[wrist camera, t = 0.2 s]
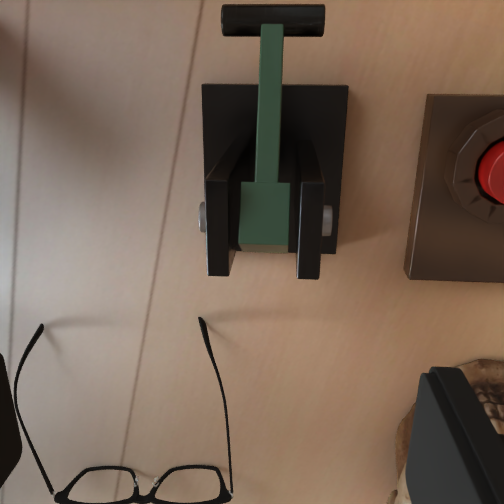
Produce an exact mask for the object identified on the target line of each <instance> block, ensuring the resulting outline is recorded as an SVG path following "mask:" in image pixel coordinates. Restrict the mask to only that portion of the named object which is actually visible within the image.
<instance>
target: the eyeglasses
mask: <svg viewBox="0 0 504 504" xmlns="http://www.w3.org/2000/svg"><path fill="white" fill-rule="evenodd" d="M198 319H199V323H200V327H201V331H202V335H203V338H204V342H205V345H206V348H207V351H208V353H209V356H210V358H211V361H212V364H213V366H214V369H215V371H216V374H217V378H218V381H219V385H220V389H221V393H222V397H223V403H224V410H225V418H226V430H227V442H228V457H229V472H230V488H231V490H230V491H228V490H227V489H226V486H225V483H224V480H223V477H222V475H221V472H220V470H219V469H218V468H217V467H214V466H206V465H187V466H180V467H175V468H172V469H169V470H168V471H167V472H166V473H165V474H164V475H163V476H162V477H161V478H160V479H159V477H158V476H157V477H156V478H155V479H154V480H155V481H154V482H156V481H157V483H156V484H155V485H154V484H153V483H154V482H153V483H152V484H153V485H154V487H153V488H152V489H151V491H150V493H149V494H148V495H145V496H141V495H139V487H138V480H139V476H136V475H135V473H134V471H133V470H132V469H130V468H126V467H119V466H100V467H91V468H86V469H84V470H83V471H82V472H80V473H79V474H78V475H77V476H76V477H75V478H74V479H73V480H72V481H71V482H70V483H69V484H68V485H67V487H66V488H65V489H64V490H62V491H60V492H58V493H56V492H54V489H53V487H52V485H51V483H50V481H49V479H48V476H47V474H46V472H45V470H44V468H43V466H42V464H41V461H40V459H39V457H38V455H37V453H36V451H35V449H34V446H33V444H32V442H31V440H30V438H29V435H28V433H27V431H26V428H25V426H24V423H23V421H22V418H21V416H20V413H19V409H18V404H17V382H18V378H19V374H20V371H21V369H22V366H23V364H24V362H25V360H26V358H27V356H28V354H29V352H30V351H31V349H32V348H33V346H34V344H35V343H36V341H37V340H38V338H39V337H40V335H41V334H42V332H43V330H44V325H43V324H41V325H40V326H39V328H38V329H37V331H36V332H35V334H34V336H33V337H32V339H31V341H30V342H29V344H28V346H27V348H26V350H25V352H24V354H23V356H22V358H21V361H20V363H19V366H18V370H17V373H16V377H15V381H14V404H15V409H16V412H17V415H18V418H19V421H20V424H21V426H22V429H23V431H24V434H25V436H26V439H27V441H28V443H29V446H30V448H31V450H32V453H33V455H34V457H35V460H36V462H37V464H38V466H39V469H40V471H41V473H42V475H43V478H44V480H45V482H46V484H47V487H48V489H49V491H50V493H51V496H52V497H53V498H54V501H55V502H56V503H59V504H130V503H133V502H134V503H138V504H147V503H150V502H151V503H154V504H223V503H227V502H229V501H230V500H231V499H232V498H233V482H232V467H231V452H230V437H229V424H228V414H227V405H226V399H225V395H224V390H223V386H222V382H221V378H220V375H219V372H218V369H217V366H216V363H215V360H214V357H213V353H212V349H211V345H210V341H209V336H208V331H207V326H206V323H205V321H204V320H203V319H202V318H201V317H198ZM194 468H196V469H210V470H214V471H216V473H217V475H218V477H219V480H220V494H219V496H218V497H217V498H215V499H213V500H208V501H203V502H194V503H177V502H169V501H164V500H160V499H157V498H155V494H156V491H157V489H158V488H159V486H160V484H161V483H162V482H163V481H164V479H165V478H166V477H167V476H168V475H169V474H171V473H172V472H174V471H177V470H183V469H194ZM106 469H114V470H124V471H128V472H130V473H131V475H132V477H133V480H134V492H133V495H132V496H131V497H130V498H128V499H124V500H120V501H115V502H108V503H84V502H77V501H73V500H69V499H68V495H69V492H70V491H71V489H72V487H73V486H74V485H75V483H76V482H77V481H78V480H79V479H80V478H81V477H82V476H83V475H84V474H85V473H87V472H89V471H96V470H106ZM55 493H56V495H55Z"/></svg>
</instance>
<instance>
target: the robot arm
mask: <svg viewBox="0 0 504 504" xmlns="http://www.w3.org/2000/svg"><path fill="white" fill-rule="evenodd" d="M21 454H22V441H21V436H20V432H19V427H18V422H17V418H16V413H15V408H14V404H13V399H12V394H11V390H10V385H9V380H8V376H7V371H6V366H5V362H4V358H3V355H2V354H1V353H0V488H1V487H2V485H3V484H4V482H5V481H6V480H7V478H8V477H9V475H10V474H11V472H12V471H13V469H14V468H15V466H16V465H17V463H18V462H19V460H20V457H21ZM405 478H406V485H407V489H408V493H409V496H410V500H411V504H504V434H498V433H497V431H496V429H495V427H494V426H493V424H492V422H491V420H490V419H489V417H488V415H487V413H486V412H485V410H484V408H483V406H482V405H481V403H480V401H479V399H478V398H477V396H476V394H475V392H474V391H473V389H472V387H471V385H470V384H469V382H468V380H467V378H466V377H465V375H464V373H463V371H462V370H461V369H460V368H452V367H431V368H430V370H429V373H422V374H421V376H420V381H419V387H418V394H417V400H416V406H415V412H414V419H413V425H412V431H411V437H410V443H409V450H408V456H407V462H406V469H405Z"/></svg>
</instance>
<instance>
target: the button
mask: <svg viewBox="0 0 504 504" xmlns="http://www.w3.org/2000/svg"><path fill="white" fill-rule="evenodd" d="M478 179H479V183H480V185H481V187H482V188H483V190H484V191H485V192H486V193H487V194H489V195H490V196H492V197H493V198H495V199H496V200H498V201H499V202H501V203H503V204H504V141H501V142H499V143H497V144H496V145H494V146H493V147H492V148H490V149H489V150H488V151H487V153H486V154H485V155H484V157H483V158H482V160H481V162H480V165H479V169H478Z"/></svg>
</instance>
